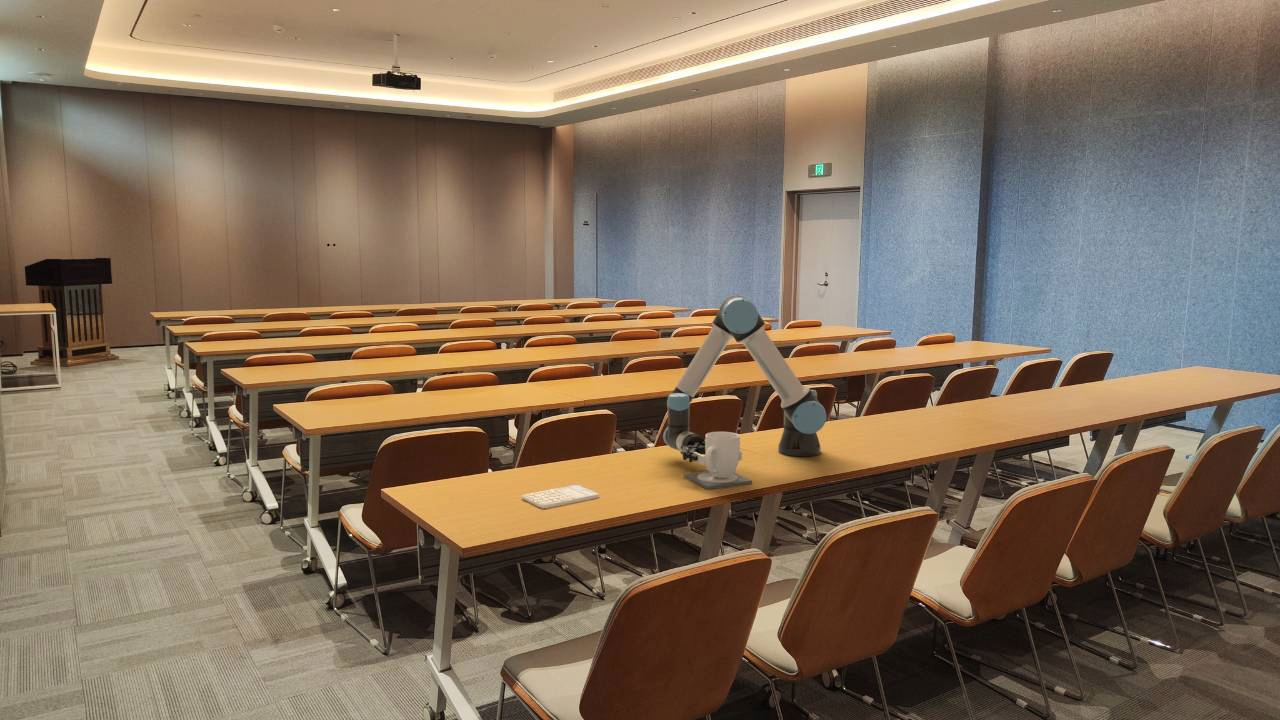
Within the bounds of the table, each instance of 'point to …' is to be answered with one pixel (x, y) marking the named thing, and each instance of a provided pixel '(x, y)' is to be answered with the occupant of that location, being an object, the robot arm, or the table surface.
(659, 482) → the table surface
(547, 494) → the calculator
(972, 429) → the table surface
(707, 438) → the mug
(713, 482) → the kitchen scale
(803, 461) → the table surface
